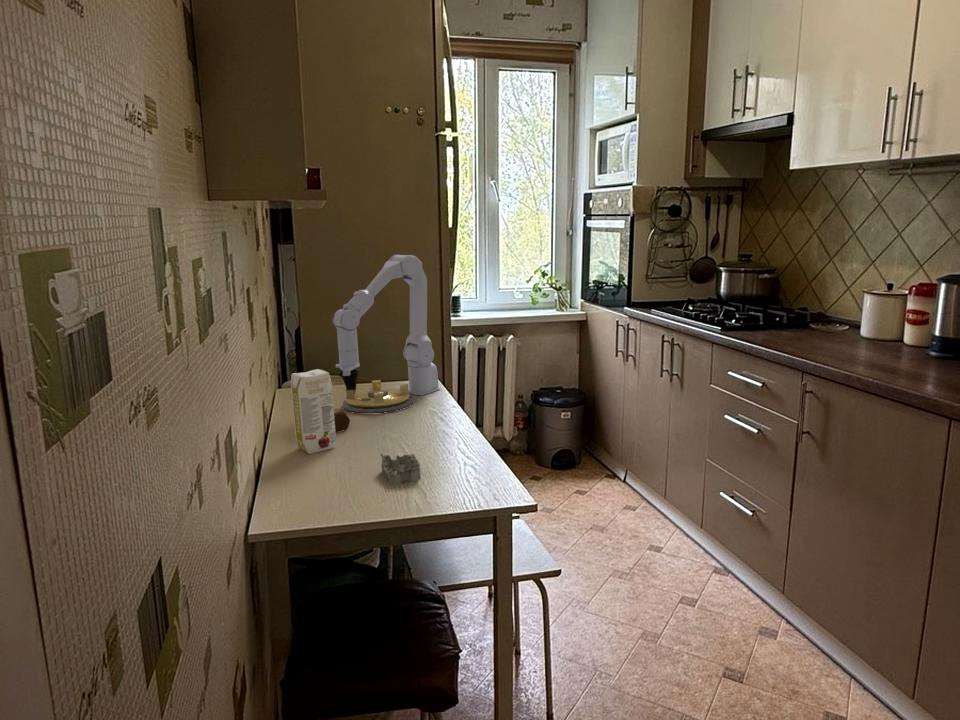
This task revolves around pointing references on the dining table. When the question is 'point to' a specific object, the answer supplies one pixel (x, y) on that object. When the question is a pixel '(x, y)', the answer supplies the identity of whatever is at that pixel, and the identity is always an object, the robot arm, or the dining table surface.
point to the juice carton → (313, 411)
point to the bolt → (341, 421)
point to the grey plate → (377, 410)
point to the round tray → (377, 396)
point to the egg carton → (401, 468)
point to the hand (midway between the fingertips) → (351, 394)
